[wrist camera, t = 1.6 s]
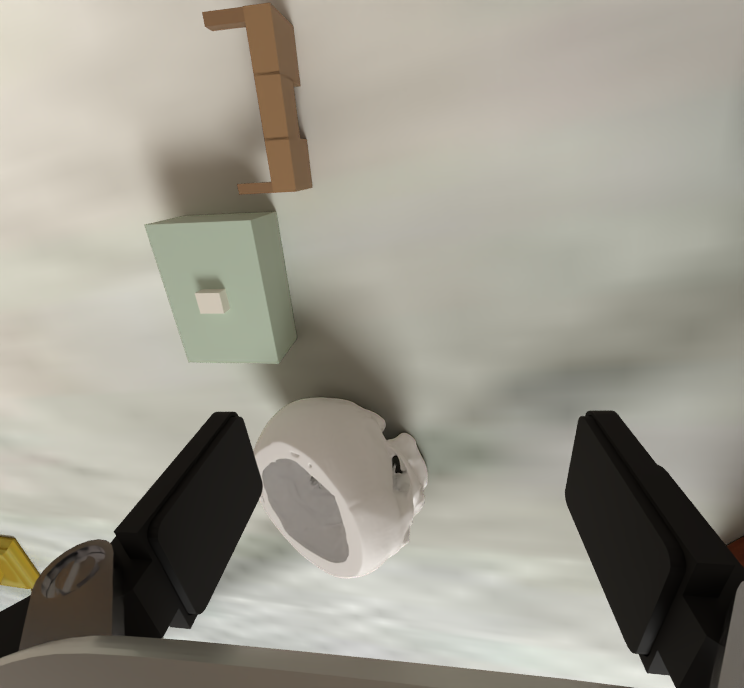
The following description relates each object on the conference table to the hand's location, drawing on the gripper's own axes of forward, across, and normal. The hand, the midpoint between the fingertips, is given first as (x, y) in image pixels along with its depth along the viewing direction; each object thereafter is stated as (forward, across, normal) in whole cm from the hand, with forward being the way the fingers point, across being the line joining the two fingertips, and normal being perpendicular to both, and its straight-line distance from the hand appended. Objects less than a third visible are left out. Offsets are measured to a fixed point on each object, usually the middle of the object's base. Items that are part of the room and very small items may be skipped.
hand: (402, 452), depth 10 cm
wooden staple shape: (+29, +12, -12) cm, 34 cm away
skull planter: (+29, +8, +24) cm, 39 cm away
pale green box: (+29, +19, +2) cm, 35 cm away
